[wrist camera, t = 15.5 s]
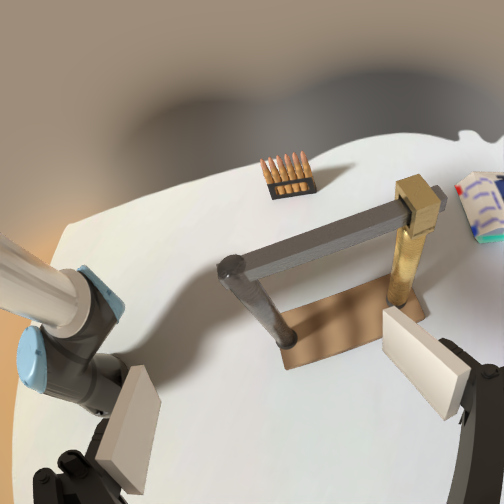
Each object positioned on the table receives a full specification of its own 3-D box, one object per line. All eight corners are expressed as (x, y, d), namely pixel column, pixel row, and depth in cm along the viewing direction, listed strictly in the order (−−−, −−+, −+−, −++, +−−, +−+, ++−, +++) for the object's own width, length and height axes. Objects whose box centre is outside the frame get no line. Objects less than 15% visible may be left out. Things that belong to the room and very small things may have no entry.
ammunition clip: (316, 187, 67) (306, 147, 57) (316, 193, 66) (306, 152, 56) (272, 194, 70) (257, 156, 61) (272, 199, 69) (256, 162, 60)
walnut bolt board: (284, 370, 46) (282, 369, 45) (272, 319, 52) (269, 316, 51) (423, 319, 42) (425, 316, 41) (401, 272, 49) (402, 268, 47)
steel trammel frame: (280, 349, 47) (219, 285, 28) (276, 333, 49) (215, 260, 30) (417, 299, 43) (450, 201, 24) (410, 284, 45) (435, 181, 26)
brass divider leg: (392, 312, 43) (414, 211, 24) (383, 291, 46) (393, 182, 26) (410, 304, 43) (443, 200, 23) (401, 283, 45) (421, 172, 26)
